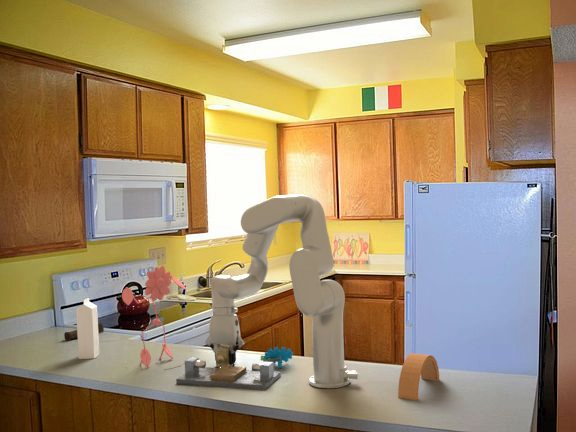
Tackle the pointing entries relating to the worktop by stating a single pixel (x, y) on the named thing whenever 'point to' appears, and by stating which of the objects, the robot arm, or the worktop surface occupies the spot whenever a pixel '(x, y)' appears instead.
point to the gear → (277, 356)
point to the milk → (87, 330)
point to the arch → (416, 374)
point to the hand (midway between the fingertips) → (225, 362)
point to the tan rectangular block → (222, 355)
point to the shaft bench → (238, 383)
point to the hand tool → (73, 335)
